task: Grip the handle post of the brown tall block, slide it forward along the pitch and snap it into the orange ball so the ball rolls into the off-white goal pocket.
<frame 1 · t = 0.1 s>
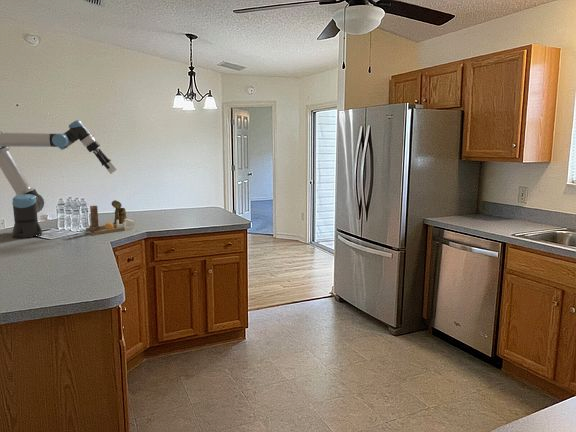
hand: (113, 171, 277), 36 cm above the worktop, tool tilted 35°, fingers open, 13 cm apart
brown tall block: (94, 219, 260), point 10 cm above the worktop, slide at 0.0 cm
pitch: (111, 232, 268), on the worktop
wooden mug: (119, 226, 289), on the worktop
ball: (109, 226, 267), point 4 cm above the worktop, touching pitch
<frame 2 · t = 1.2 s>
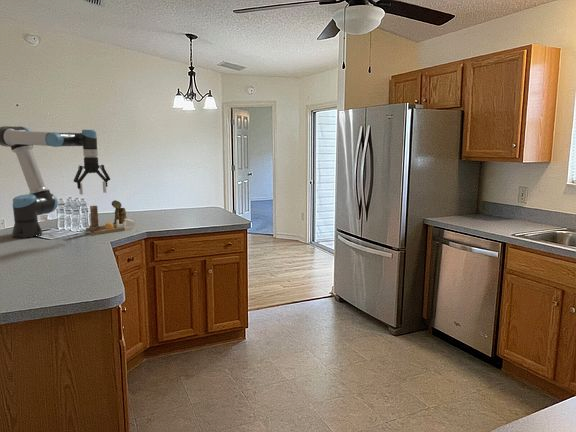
hand: (93, 193, 258), 25 cm above the worktop, tool pointing down, fingers open, 13 cm apart
nothing on the worktop moved.
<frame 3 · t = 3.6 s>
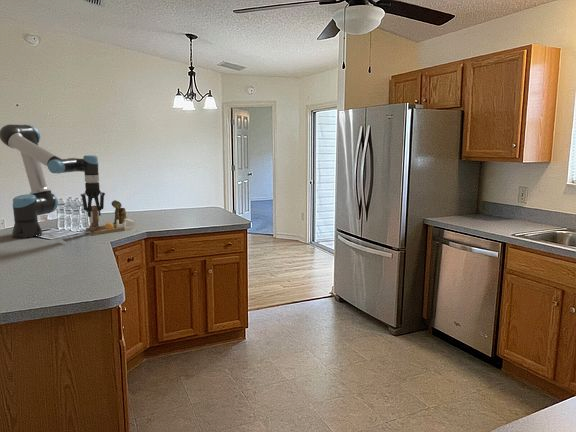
hand: (94, 221, 260), 8 cm above the worktop, tool pointing down, fingers closed on brown tall block, 3 cm apart
brown tall block: (94, 219, 260), point 10 cm above the worktop, slide at 0.0 cm, touching gripper
everything else where it was.
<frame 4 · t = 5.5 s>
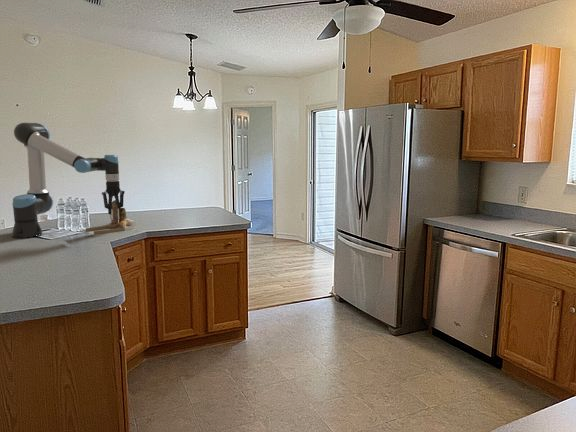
hand: (114, 219, 269), 8 cm above the worktop, tool pointing down, fingers closed on brown tall block, 3 cm apart
brown tall block: (114, 216, 268), point 10 cm above the worktop, slide at 12.0 cm, touching gripper
ball: (123, 224, 273), point 4 cm above the worktop, tilted 166°, touching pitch
everything else where it was.
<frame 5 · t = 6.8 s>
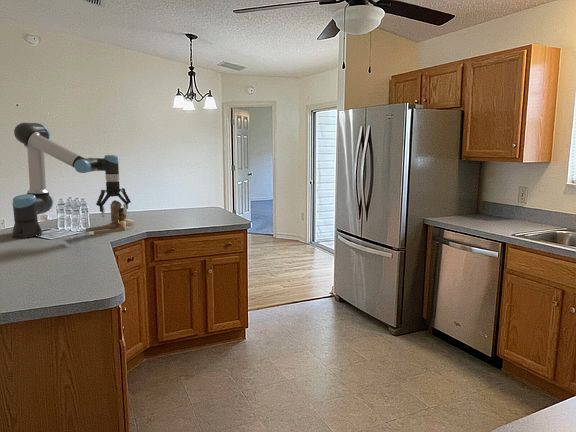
hand: (114, 215, 268), 10 cm above the worktop, tool pointing down, fingers open, 13 cm apart
brown tall block: (114, 216, 268), point 10 cm above the worktop, slide at 12.0 cm
ball: (122, 224, 273), point 4 cm above the worktop, tilted 173°, touching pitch
everything else where it was.
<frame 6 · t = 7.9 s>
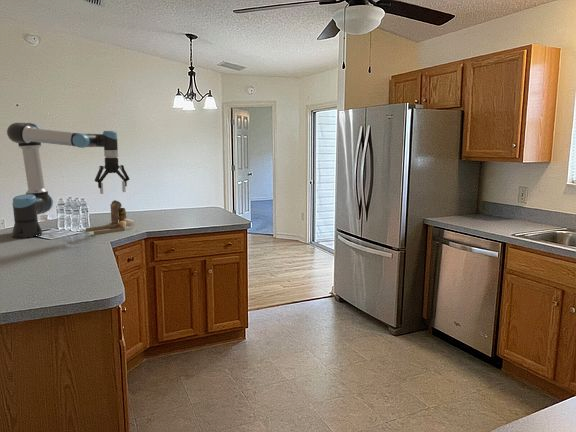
hand: (113, 192, 266), 24 cm above the worktop, tool pointing down, fingers open, 13 cm apart
nothing on the worktop moved.
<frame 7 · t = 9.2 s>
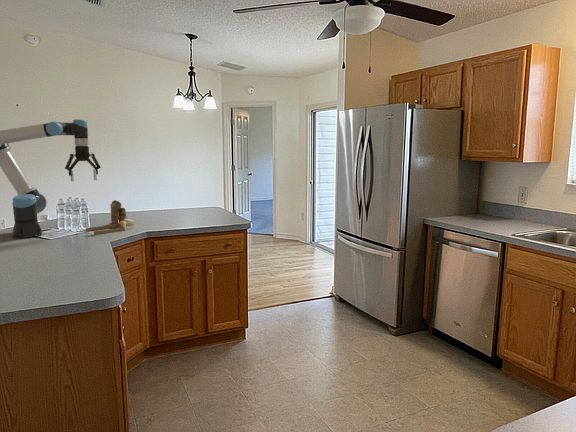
hand: (84, 180, 271), 31 cm above the worktop, tool pointing down, fingers open, 13 cm apart
nothing on the worktop moved.
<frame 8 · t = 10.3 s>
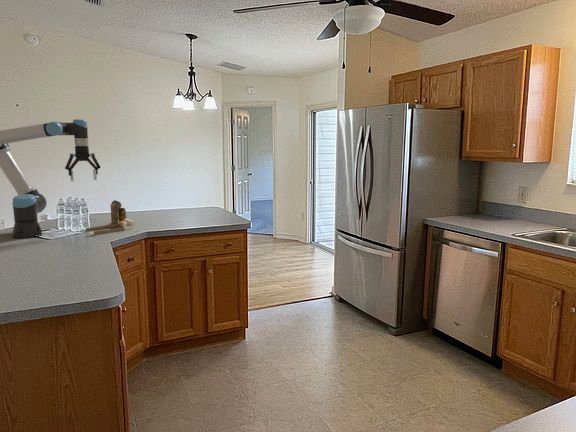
hand: (83, 180, 271), 31 cm above the worktop, tool pointing down, fingers open, 13 cm apart
nothing on the worktop moved.
at the end: ball inside the target area (1.5 cm from its centre), point 4.0 cm above the worktop; brown tall block slide at 12.0 cm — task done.
